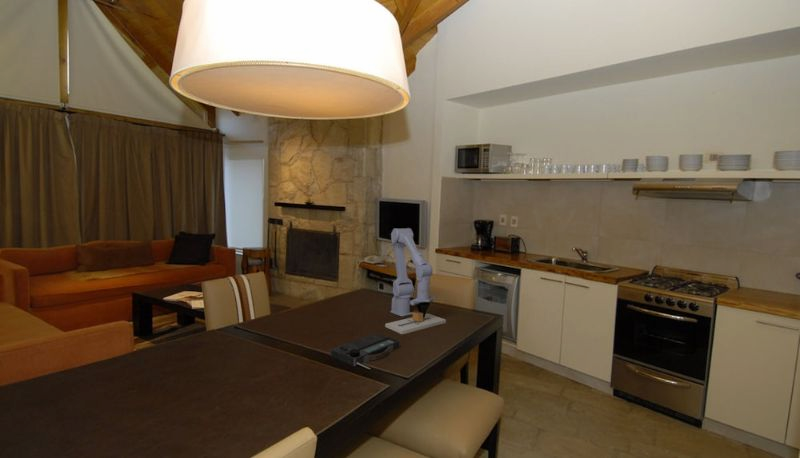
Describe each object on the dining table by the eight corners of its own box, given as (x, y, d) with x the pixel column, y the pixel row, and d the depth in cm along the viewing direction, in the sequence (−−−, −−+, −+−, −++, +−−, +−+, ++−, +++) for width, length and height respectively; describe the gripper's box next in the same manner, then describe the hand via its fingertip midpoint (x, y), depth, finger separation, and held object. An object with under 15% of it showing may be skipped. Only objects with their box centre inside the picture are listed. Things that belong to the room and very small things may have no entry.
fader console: (385, 326, 187) (385, 323, 187) (428, 316, 205) (428, 313, 205) (402, 334, 178) (402, 330, 178) (445, 322, 196) (445, 319, 196)
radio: (376, 330, 171) (413, 342, 158) (376, 339, 171) (413, 353, 159) (330, 346, 152) (368, 361, 139) (330, 356, 152) (368, 373, 139)
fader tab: (412, 319, 192) (412, 311, 192) (417, 318, 194) (417, 310, 194) (418, 321, 189) (418, 313, 189) (422, 320, 191) (423, 312, 191)
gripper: (417, 293, 185) (416, 322, 186) (439, 289, 194) (438, 316, 195) (407, 290, 190) (406, 318, 191) (429, 286, 199) (428, 313, 201)
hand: (422, 317), depth 194 cm, fingers closed
